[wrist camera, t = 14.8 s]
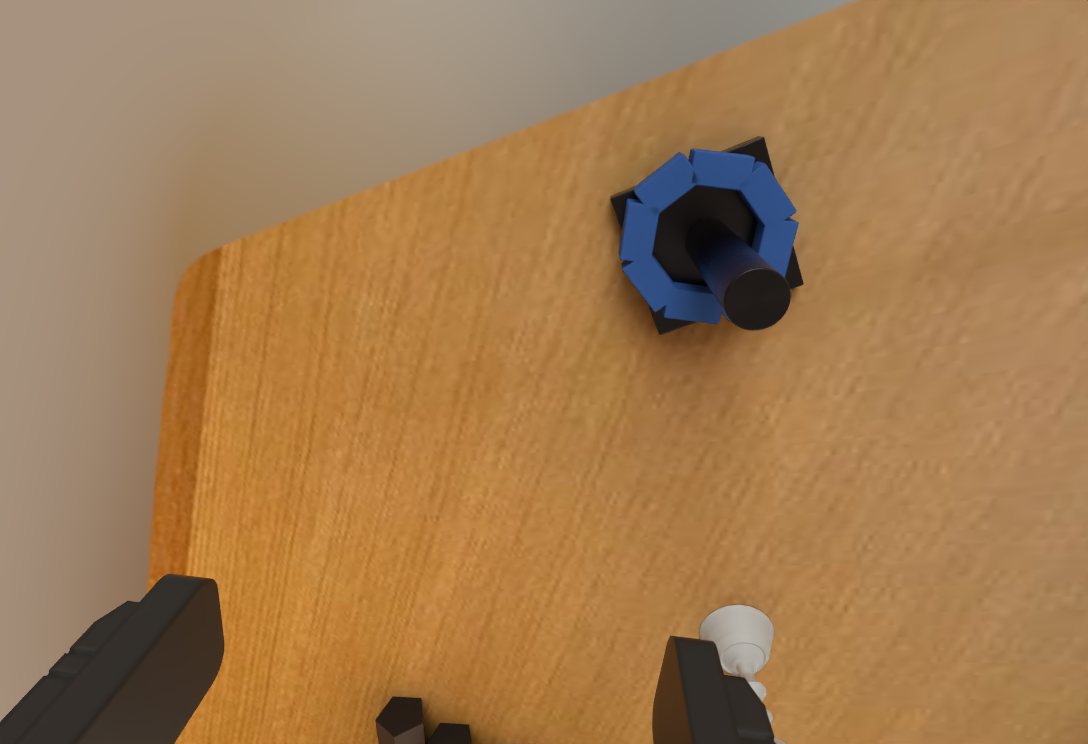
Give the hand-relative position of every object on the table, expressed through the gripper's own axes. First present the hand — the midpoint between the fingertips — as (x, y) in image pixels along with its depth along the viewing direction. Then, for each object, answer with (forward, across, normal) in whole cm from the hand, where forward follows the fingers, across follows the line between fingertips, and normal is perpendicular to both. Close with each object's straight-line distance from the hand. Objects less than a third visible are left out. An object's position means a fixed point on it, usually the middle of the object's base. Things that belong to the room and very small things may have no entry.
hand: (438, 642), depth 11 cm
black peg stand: (+27, -9, -3) cm, 28 cm away
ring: (+26, -8, -3) cm, 27 cm away
